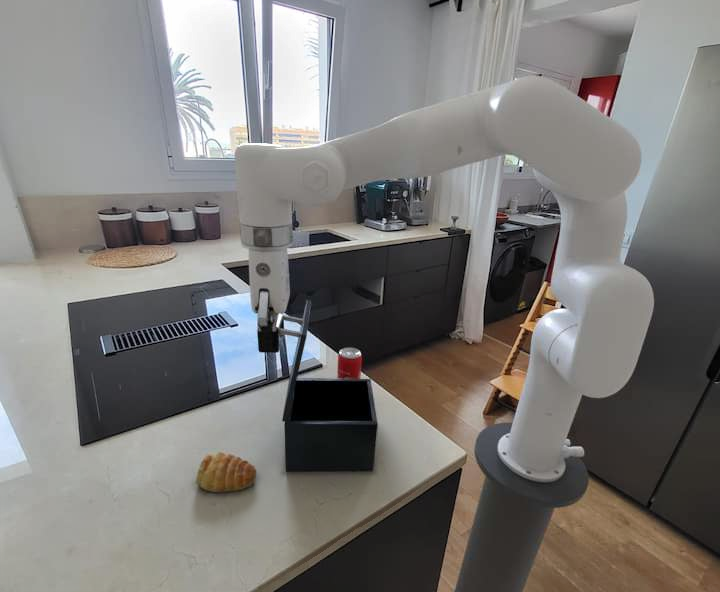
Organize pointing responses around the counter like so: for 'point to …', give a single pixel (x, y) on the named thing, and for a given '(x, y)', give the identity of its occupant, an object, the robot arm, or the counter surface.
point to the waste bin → (331, 426)
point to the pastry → (225, 473)
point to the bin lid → (298, 352)
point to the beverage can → (349, 364)
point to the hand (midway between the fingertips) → (272, 340)
